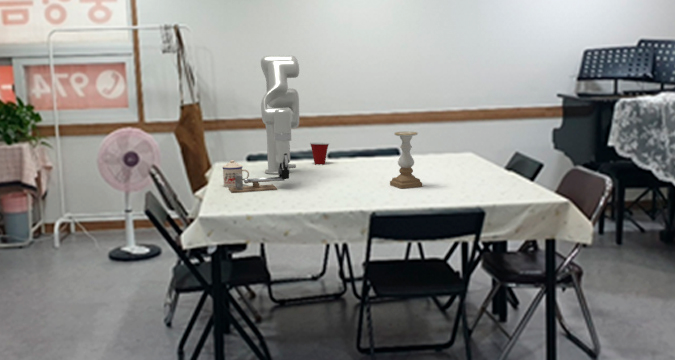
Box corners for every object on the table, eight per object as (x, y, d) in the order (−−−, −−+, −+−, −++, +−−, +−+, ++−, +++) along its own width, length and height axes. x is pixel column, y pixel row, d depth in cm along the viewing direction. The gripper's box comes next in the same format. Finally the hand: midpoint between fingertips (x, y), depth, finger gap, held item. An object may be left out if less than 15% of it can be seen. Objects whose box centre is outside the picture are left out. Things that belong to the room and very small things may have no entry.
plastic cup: (333, 163, 375) (333, 141, 373) (322, 166, 366) (322, 143, 364) (317, 162, 380) (316, 140, 378) (306, 164, 371) (305, 142, 369)
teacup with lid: (221, 187, 306) (220, 162, 304) (224, 183, 315) (223, 159, 313) (248, 187, 307) (247, 161, 305) (250, 183, 315) (249, 158, 314)
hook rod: (288, 179, 307) (288, 168, 306) (290, 181, 302) (290, 169, 301) (243, 182, 301) (242, 170, 300) (244, 184, 296) (244, 172, 295)
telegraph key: (272, 186, 308) (272, 170, 306) (277, 189, 298) (276, 174, 297) (228, 189, 302) (227, 173, 301) (231, 193, 293) (231, 177, 291)
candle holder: (389, 185, 305) (389, 132, 301) (410, 183, 310) (410, 130, 306) (401, 188, 295) (401, 134, 291) (422, 186, 300) (423, 132, 296)
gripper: (270, 135, 307) (272, 175, 310) (278, 139, 291) (279, 181, 294) (287, 135, 309) (288, 174, 312) (295, 138, 293) (296, 180, 296)
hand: (284, 177), depth 303 cm, fingers closed on hook rod, 5 cm apart
